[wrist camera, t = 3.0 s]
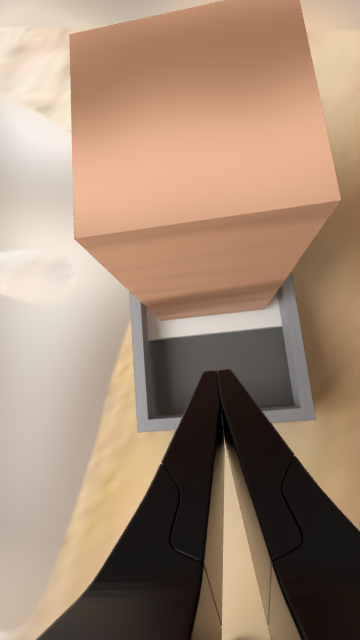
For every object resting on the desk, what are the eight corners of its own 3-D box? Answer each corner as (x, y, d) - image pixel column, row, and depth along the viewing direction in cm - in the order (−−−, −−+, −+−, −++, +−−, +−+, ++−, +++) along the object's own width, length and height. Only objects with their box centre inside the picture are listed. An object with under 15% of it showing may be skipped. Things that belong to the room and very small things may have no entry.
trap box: (304, 414, 17) (316, 419, 15) (146, 426, 18) (137, 432, 16) (252, 85, 21) (255, 56, 19) (126, 109, 22) (117, 83, 20)
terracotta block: (264, 309, 17) (341, 200, 6) (160, 320, 18) (73, 238, 7) (250, 213, 18) (296, -16, 8) (153, 227, 19) (69, 34, 8)
